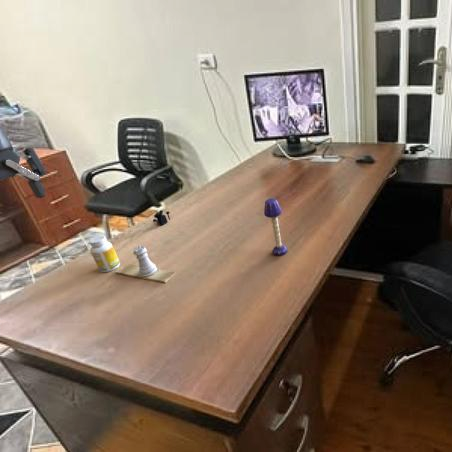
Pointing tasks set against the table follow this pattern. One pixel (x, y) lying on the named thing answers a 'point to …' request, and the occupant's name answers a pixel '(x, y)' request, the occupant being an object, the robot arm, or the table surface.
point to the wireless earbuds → (161, 218)
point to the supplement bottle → (103, 254)
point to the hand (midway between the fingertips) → (20, 206)
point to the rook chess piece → (144, 262)
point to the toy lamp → (275, 224)
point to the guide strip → (134, 272)
